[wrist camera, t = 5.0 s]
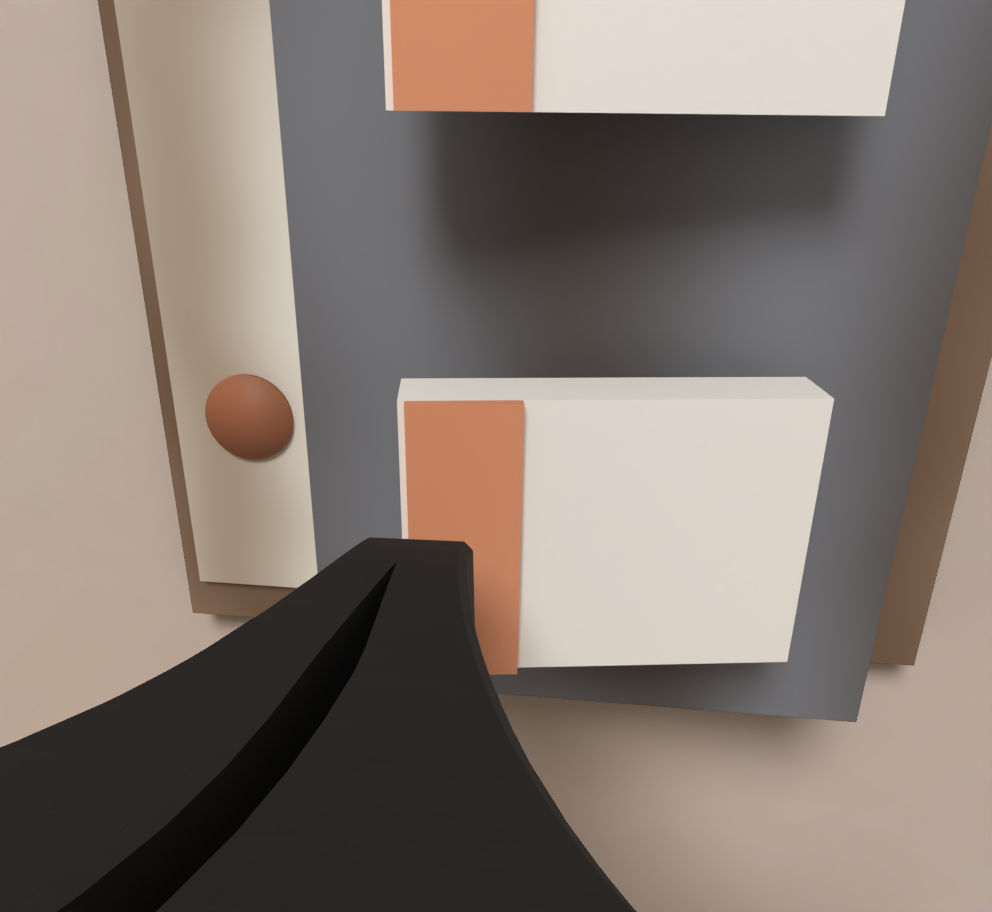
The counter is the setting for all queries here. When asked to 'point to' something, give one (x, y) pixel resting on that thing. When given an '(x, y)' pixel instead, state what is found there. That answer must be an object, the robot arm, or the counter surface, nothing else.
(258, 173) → the switch unit
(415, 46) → the block
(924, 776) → the counter surface
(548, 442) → the block
